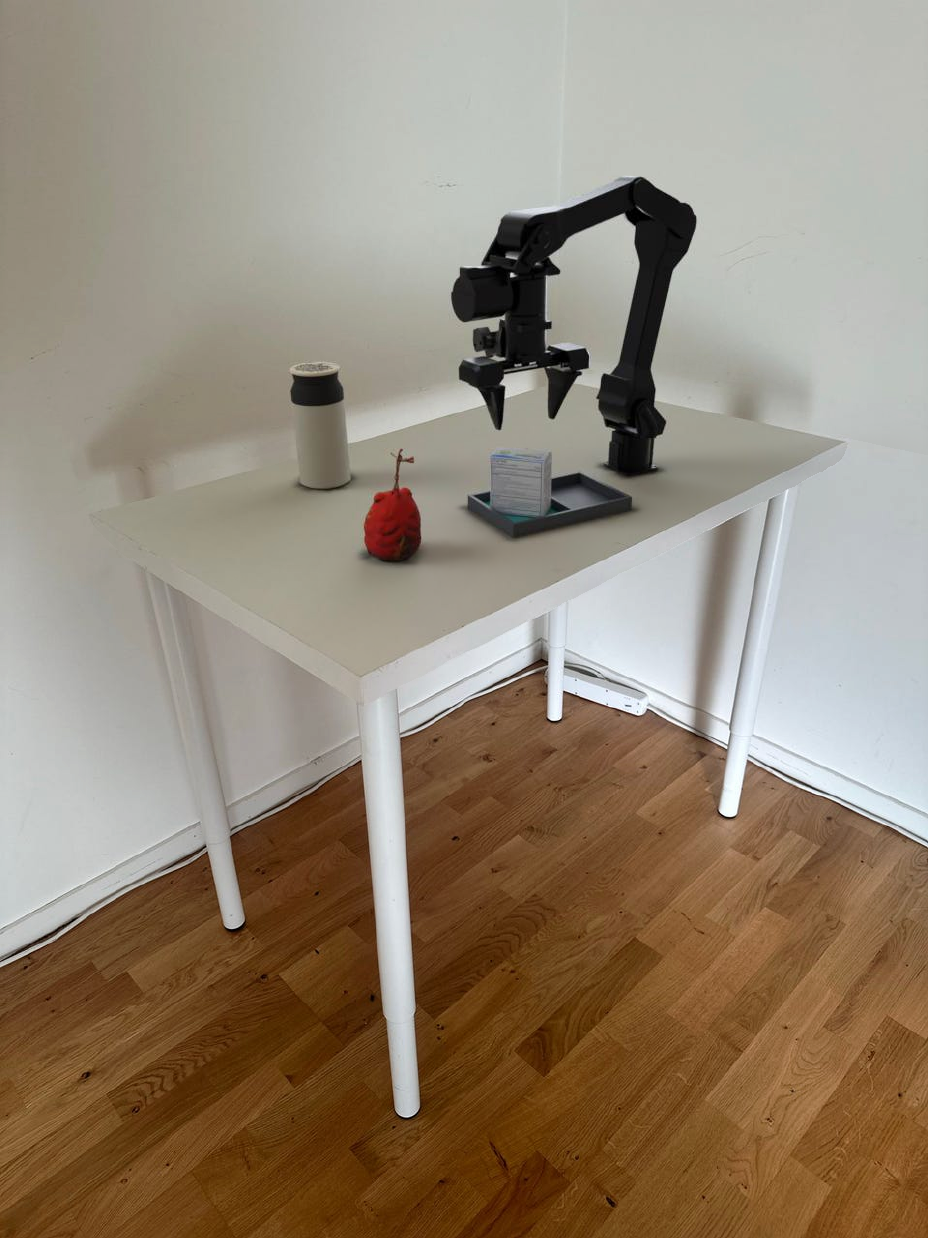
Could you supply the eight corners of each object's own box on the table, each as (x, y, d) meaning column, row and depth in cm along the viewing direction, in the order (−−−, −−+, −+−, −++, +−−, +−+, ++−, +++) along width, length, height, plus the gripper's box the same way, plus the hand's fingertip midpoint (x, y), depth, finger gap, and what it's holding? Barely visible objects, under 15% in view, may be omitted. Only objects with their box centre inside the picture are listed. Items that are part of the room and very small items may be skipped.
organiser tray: (580, 483, 142) (580, 470, 141) (631, 509, 131) (632, 496, 130) (467, 507, 133) (467, 494, 132) (513, 538, 123) (513, 524, 122)
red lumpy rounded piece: (407, 538, 124) (401, 431, 117) (433, 556, 119) (429, 445, 111) (357, 551, 120) (348, 442, 113) (382, 570, 115) (374, 457, 108)
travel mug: (329, 493, 140) (317, 375, 131) (289, 484, 143) (276, 369, 135) (360, 478, 145) (352, 364, 137) (322, 469, 149) (311, 358, 140)
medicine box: (551, 508, 131) (553, 450, 127) (543, 519, 127) (544, 460, 123) (499, 502, 133) (499, 445, 129) (489, 513, 130) (489, 455, 125)
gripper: (549, 296, 134) (547, 401, 142) (437, 311, 126) (442, 421, 134) (594, 307, 126) (590, 418, 133) (478, 324, 118) (480, 441, 125)
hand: (525, 423), depth 132 cm, fingers open, 9 cm apart
